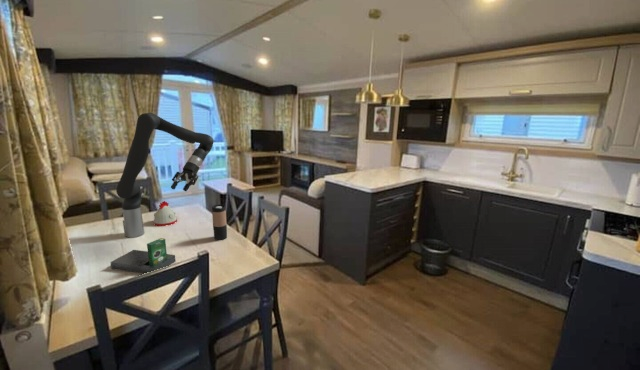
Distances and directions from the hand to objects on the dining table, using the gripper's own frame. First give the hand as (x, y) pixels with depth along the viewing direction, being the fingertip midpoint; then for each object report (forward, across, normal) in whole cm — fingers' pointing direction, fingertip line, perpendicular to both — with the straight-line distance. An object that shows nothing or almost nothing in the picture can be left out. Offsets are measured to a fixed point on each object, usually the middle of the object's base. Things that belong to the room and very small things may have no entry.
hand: (178, 189), depth 148 cm
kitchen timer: (+8, -39, +39) cm, 56 cm away
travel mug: (+12, +12, +35) cm, 39 cm away
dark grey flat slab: (+40, -1, +7) cm, 40 cm away
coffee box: (+38, +6, +8) cm, 40 cm away
